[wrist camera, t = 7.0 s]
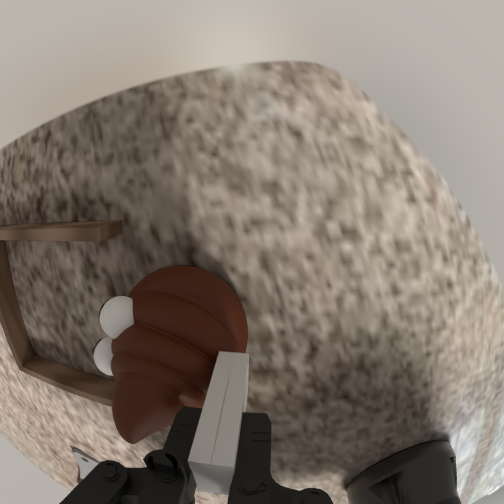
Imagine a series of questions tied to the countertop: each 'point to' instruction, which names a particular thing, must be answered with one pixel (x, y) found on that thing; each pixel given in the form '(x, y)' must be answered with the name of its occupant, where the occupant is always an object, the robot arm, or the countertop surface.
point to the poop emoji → (166, 345)
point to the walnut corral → (7, 311)
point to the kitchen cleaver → (84, 463)
